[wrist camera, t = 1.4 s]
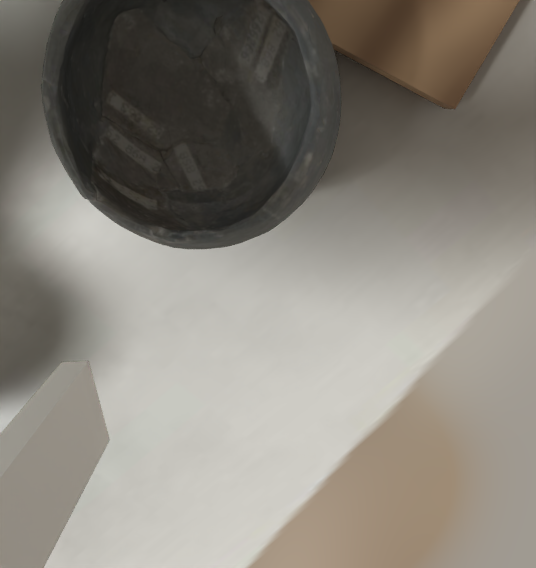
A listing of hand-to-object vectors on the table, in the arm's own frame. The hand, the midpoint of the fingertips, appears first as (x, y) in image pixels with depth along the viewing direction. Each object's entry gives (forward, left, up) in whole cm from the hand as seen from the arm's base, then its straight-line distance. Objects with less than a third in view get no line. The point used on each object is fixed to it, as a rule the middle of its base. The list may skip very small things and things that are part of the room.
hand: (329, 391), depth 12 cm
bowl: (-8, +4, -22) cm, 23 cm away
